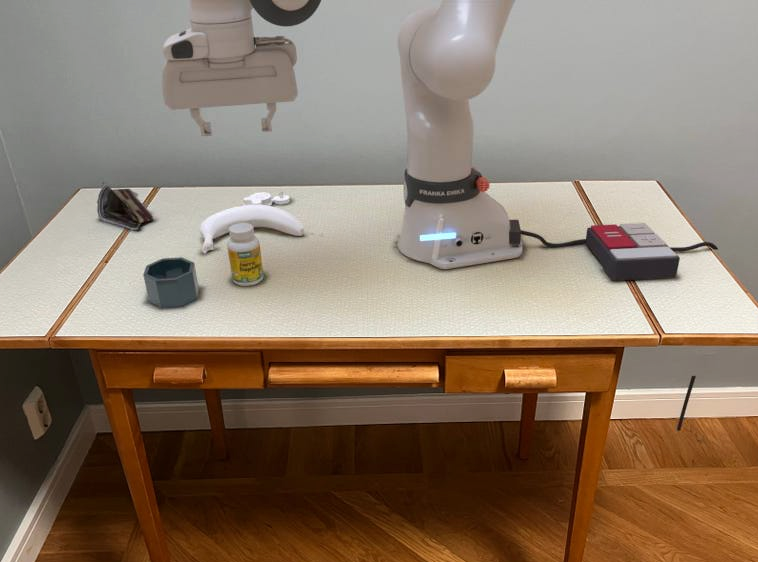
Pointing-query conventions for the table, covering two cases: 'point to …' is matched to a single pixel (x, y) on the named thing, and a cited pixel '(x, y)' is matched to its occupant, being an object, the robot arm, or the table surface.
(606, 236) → the control box
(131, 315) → the table surface
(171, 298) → the holder
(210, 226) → the banana
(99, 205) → the chocolate cake
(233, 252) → the supplement bottle
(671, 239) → the table surface
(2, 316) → the table surface
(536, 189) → the table surface
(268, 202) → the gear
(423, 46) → the robot arm
